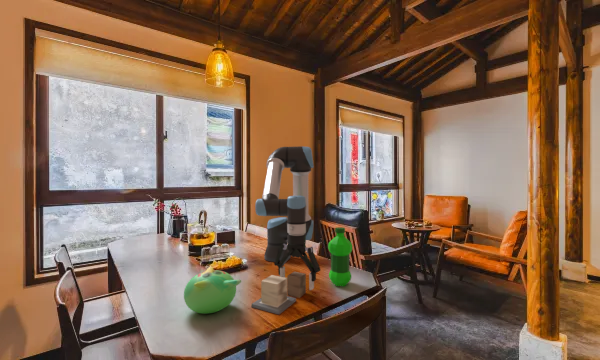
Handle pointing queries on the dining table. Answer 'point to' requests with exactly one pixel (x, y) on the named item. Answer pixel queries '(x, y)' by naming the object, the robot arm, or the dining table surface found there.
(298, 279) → the walnut block
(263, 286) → the maple block
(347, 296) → the dining table surface
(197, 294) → the round green bird figurine
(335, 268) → the plastic bottle
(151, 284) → the dining table surface
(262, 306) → the slate pad
